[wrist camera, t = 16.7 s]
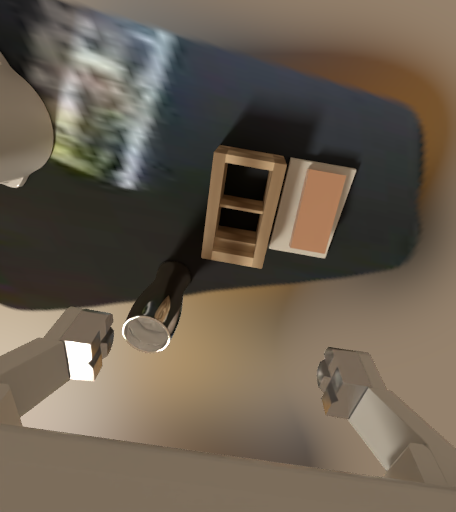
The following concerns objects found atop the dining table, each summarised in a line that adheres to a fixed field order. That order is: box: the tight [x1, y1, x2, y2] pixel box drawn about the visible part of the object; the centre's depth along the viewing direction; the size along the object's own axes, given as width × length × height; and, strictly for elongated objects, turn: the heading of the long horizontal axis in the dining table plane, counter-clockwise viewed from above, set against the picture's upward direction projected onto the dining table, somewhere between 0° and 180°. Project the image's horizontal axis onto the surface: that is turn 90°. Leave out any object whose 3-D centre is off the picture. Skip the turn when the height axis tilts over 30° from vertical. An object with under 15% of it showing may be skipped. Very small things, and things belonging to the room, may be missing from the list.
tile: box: [289, 169, 346, 254], centre depth 42 cm, size 5×11×3 cm, turn 171°
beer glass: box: [122, 261, 191, 353], centre depth 46 cm, size 7×7×15 cm
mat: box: [269, 157, 356, 258], centre depth 44 cm, size 9×14×1 cm, turn 171°
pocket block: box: [201, 145, 287, 269], centre depth 42 cm, size 9×15×6 cm, turn 171°
